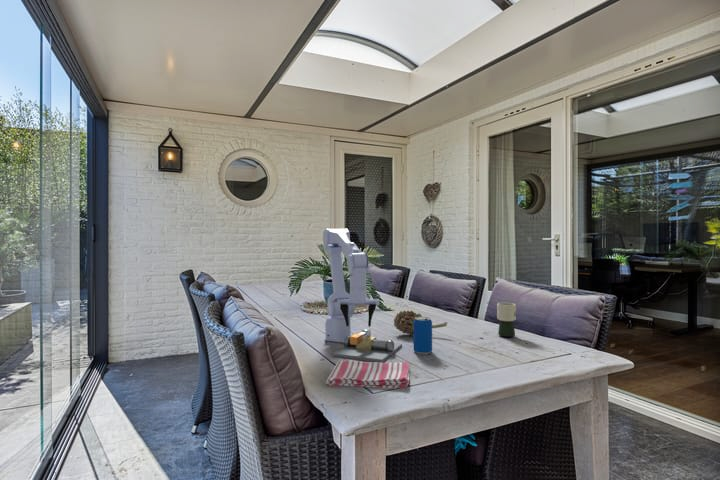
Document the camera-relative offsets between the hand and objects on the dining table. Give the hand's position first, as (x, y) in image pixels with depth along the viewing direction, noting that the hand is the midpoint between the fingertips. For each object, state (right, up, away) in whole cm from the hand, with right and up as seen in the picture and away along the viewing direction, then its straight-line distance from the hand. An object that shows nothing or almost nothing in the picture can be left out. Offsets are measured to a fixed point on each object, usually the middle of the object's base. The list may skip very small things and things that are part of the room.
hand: (358, 325), depth 145 cm
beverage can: (+23, -10, 0) cm, 25 cm away
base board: (+4, -10, +2) cm, 10 cm away
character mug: (+59, -9, +20) cm, 63 cm away
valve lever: (+1, -5, -2) cm, 5 cm away
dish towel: (+3, -11, -23) cm, 25 cm away
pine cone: (+25, -9, +23) cm, 35 cm away
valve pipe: (+4, -9, +2) cm, 10 cm away
